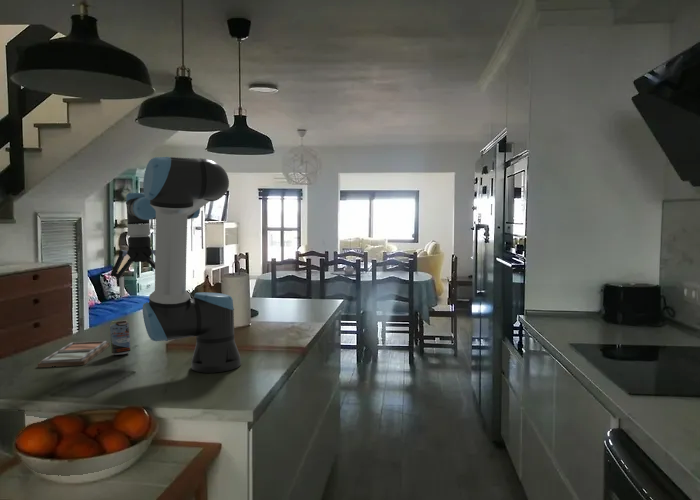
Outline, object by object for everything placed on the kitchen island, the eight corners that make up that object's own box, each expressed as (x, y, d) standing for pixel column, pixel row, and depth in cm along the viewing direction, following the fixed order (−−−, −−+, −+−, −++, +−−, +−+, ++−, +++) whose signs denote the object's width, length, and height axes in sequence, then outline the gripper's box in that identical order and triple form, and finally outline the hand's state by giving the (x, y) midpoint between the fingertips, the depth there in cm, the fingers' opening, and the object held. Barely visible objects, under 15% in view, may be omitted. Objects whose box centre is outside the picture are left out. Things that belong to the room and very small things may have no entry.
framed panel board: (84, 365, 172) (83, 358, 172) (37, 367, 170) (37, 361, 170) (109, 345, 197) (109, 340, 197) (69, 347, 196) (69, 342, 196)
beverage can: (114, 358, 180) (112, 322, 179) (108, 353, 185) (106, 319, 185) (133, 354, 184) (132, 320, 183) (127, 350, 189) (125, 317, 189)
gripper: (177, 235, 195) (179, 292, 196) (106, 236, 193) (109, 294, 194) (172, 235, 188) (174, 295, 189) (99, 237, 185) (102, 297, 187)
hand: (141, 295), depth 192 cm, fingers open, 13 cm apart
